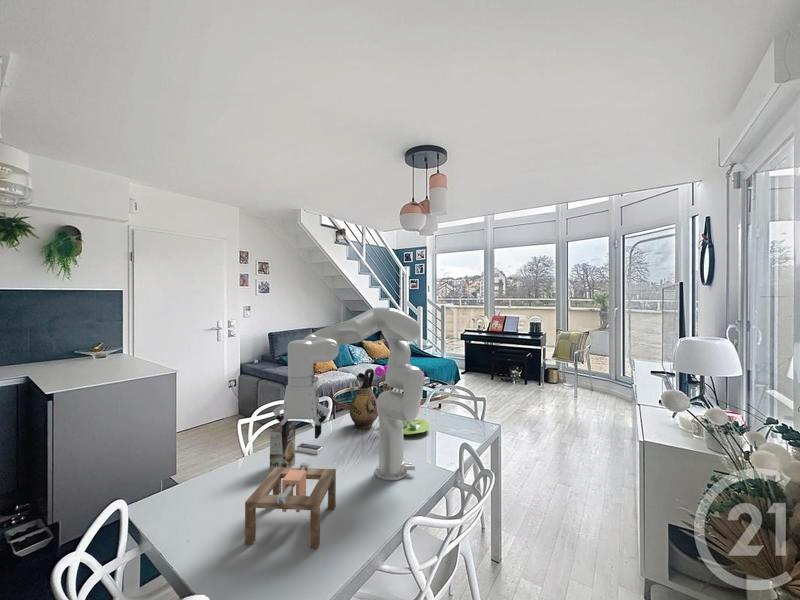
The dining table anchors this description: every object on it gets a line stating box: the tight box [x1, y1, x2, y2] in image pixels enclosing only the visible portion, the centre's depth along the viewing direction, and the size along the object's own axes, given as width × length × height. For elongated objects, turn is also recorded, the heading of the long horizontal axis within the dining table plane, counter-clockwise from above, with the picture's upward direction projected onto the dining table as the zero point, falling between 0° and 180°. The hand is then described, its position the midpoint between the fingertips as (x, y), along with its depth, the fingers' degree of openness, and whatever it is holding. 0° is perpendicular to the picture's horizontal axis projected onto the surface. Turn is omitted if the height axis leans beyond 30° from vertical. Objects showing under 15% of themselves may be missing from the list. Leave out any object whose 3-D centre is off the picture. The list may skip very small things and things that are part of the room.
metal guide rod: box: [277, 462, 310, 504], centre depth 105 cm, size 2×20×2 cm, turn 176°
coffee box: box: [269, 423, 296, 473], centre depth 140 cm, size 9×6×16 cm
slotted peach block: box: [281, 470, 307, 513], centre depth 105 cm, size 5×6×9 cm
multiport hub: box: [295, 442, 324, 455], centre depth 156 cm, size 4×11×2 cm, turn 71°
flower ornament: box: [374, 364, 431, 435], centre depth 184 cm, size 30×28×35 cm
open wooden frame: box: [244, 467, 337, 550], centre depth 105 cm, size 20×20×12 cm
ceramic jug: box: [349, 368, 378, 430], centre depth 189 cm, size 17×15×30 cm
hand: (301, 436), depth 108 cm, fingers open, 9 cm apart
